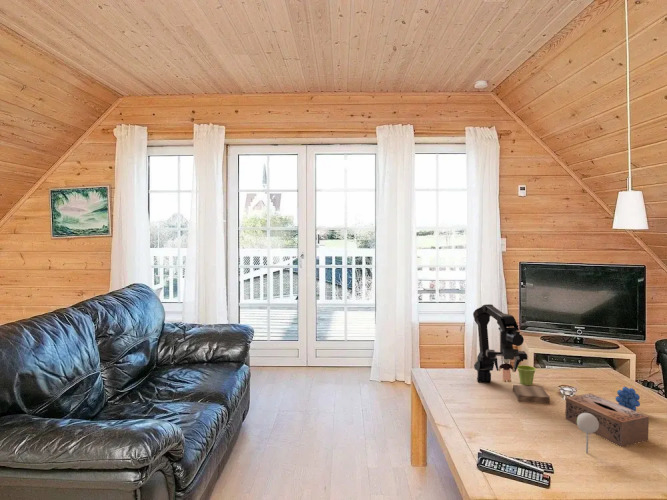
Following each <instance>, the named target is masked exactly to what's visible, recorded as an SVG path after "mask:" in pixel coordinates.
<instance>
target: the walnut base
mask: <svg viewBox="0 0 667 500" xmlns="http://www.w3.org/2000/svg"><path fill="white" fill-rule="evenodd" d="M512 392H513V393H514V395H515V398H516V399H517V401H518V402H524V403H525V402H526V403H539V404H550V398H551V397H550V396H549V394H548V393H547V392H546V390H545V389H544V388H543V386H535V385H523V384H521V385H518V384H513V385H512Z"/></svg>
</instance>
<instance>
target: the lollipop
mask: <svg viewBox="0 0 667 500" xmlns="http://www.w3.org/2000/svg"><path fill="white" fill-rule="evenodd" d="M576 426H577V427H578V429H579V430H580V431H582V432H583V433H586V434H585V439H586V440H585V453H586V454H588V453H589V434H594V432H596V431H597V429H598V427H599V423H598V420H597V419H596V417H595V416H593V415H592V414H589V413H582V414H580V415H579V416H578V417H577V425H576Z"/></svg>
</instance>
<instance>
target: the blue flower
mask: <svg viewBox="0 0 667 500" xmlns="http://www.w3.org/2000/svg"><path fill="white" fill-rule="evenodd" d="M616 393H617V395H616V397H615V401H616V403H617V404H619V405H621V406H624V407H626V408H629V409H631V410H634V411H636V412H637V408H639V407H640V406H641V403H640V394H638V393H636V390H635V389H634V388H632V387H630V388H629V387H627V386H623V387H622V389H618V390H617V392H616Z"/></svg>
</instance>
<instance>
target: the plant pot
mask: <svg viewBox="0 0 667 500" xmlns="http://www.w3.org/2000/svg"><path fill="white" fill-rule="evenodd" d="M516 370H517V371H518V377H519V383H520V384H521V385H522V386H533V383H534V376H535V372H536V370H537V369H536V367H534V366H531V365H525V364H524V365H523V364H522V365H518V367H517V369H516Z"/></svg>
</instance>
